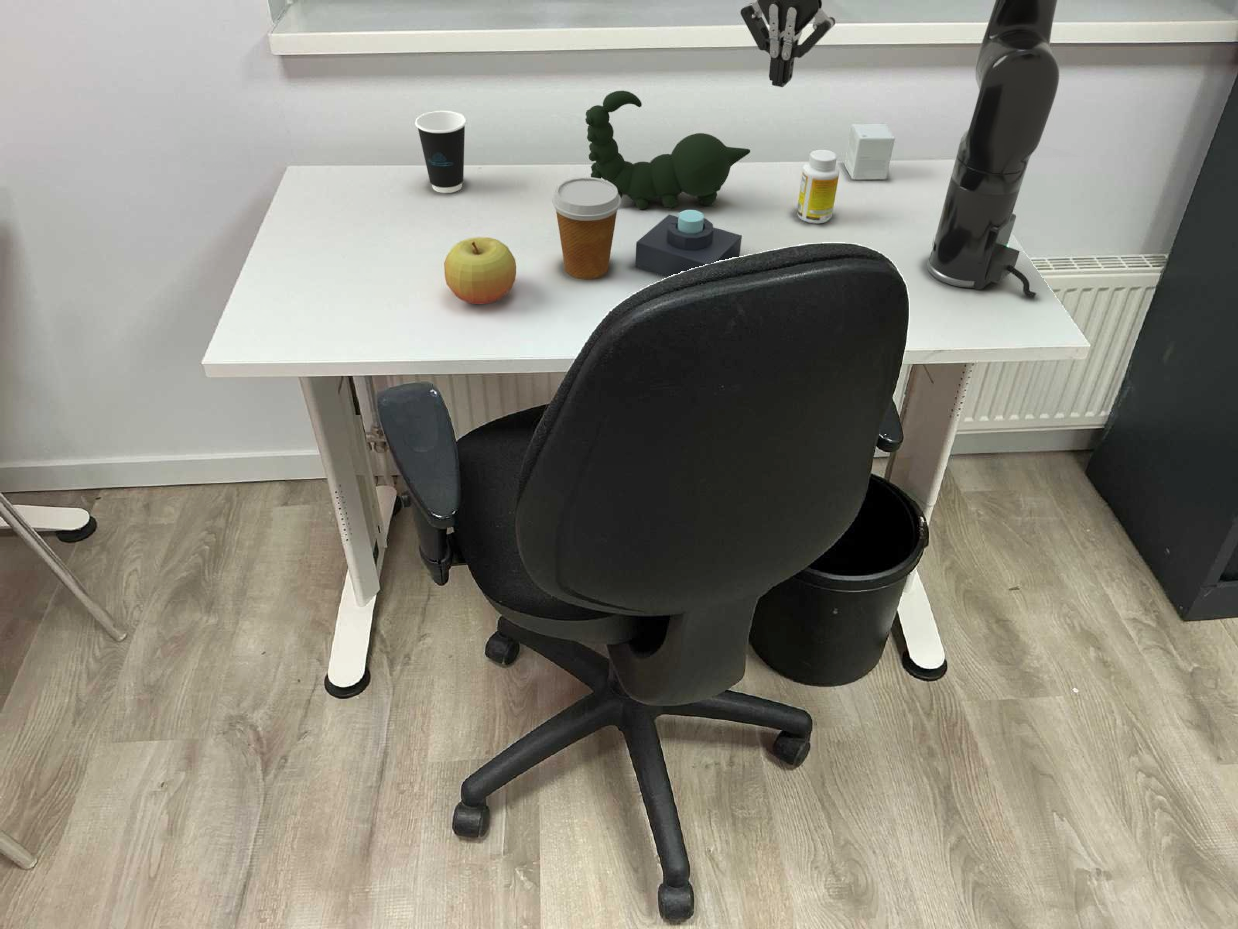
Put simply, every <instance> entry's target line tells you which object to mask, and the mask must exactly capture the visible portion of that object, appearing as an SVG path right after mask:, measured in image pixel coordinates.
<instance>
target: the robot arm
mask: <svg viewBox="0 0 1238 929" xmlns="http://www.w3.org/2000/svg"><path fill="white" fill-rule="evenodd" d="M1057 3H1058V0H995V2H994V4H993V8H992V10H991V13H990V16H989V20H988V23H987V26H986V28H985V32H984V35H983V37H982V41H981V43H980V47H979V50H978V53H977V56H976V61H975V67H974V73H975V81H976V84H977V88H978V90H979V91H978V96H977V99H976V103H975V107H974V110H973V113H972V117H971V120H970V124H969V127H968V129H967V130H966V131H965V132H964V133H963V134H962V135H961V138H960V141H959V144H958V148H957V152H956V156H955V160H954V164H953V168H952V172H951V175H950V180H949V183H948V187H947V189H946V190H947V191H946V195H945V198H944V203H943V207H942V209H941V214H940V218H939V220H938V221H939V222H938V226H937V231H936V234H935V236H934V237H933V238H932V242H931V252H930V255H929V257H928V261H927V269H928V272H929V273H930V274H931V275H932V276H933V278H935V279H937V280H938V281H940V282H942V283H945V284H947V285H951V286H955V287H959V288H972V289H976V290H978V291H982V290H983V289H984V288H985V287H986V286H988V284H990V283H991V282H992V283H995V284H997V285H999V284H1001V282H1003V281H1004V280H1005V279H1006V278H1007V277H1008V276H1009V275H1010V274H1012V275H1013V276H1015V277H1016V278H1017V279H1018V280H1019V281H1021V284H1022V291H1023V294H1024V295H1025V296H1026V297H1027V298H1031V299H1034V298H1035V297H1036V295H1037V292H1036V291H1031V290H1030V287H1031V286H1030V281H1029V279H1028V278H1027V276H1026V275H1025V274H1024V273H1023V272H1021V271H1020V270H1018V269H1017V268H1016V264H1017V261H1018V258H1019V255H1020V253H1021V251H1020V250H1018V249H1015V248H1013V247H1010V246H1009V241H1010V238H1011V235H1012V232H1013V229H1014V225H1015V222H1016V219H1017V215H1016V214H1015V213H1014V210H1015V206H1016V204H1017V201H1018V196H1019V194H1020V191H1021V187H1022V184H1023V181H1024V179H1025V176H1026V175H1025V174H1026V171H1027V169H1028V165H1029V162H1030V159H1031V157H1032V155H1033V153H1034V152H1035V151H1036V150H1037V148H1038V146H1039V144H1040V142H1041V140H1042V136H1043V133H1044V131H1045V128H1046V125H1047V123H1048V120H1049V116H1050V113H1051V111H1052V109H1053V105H1054V102H1055V98H1056V95H1057V93H1058V92H1057V91H1058V88H1059V83H1060V66H1059V63H1058V61H1057V59H1056V57H1055V55H1054V52H1052V49H1051V37H1052V31H1053V30H1052V29H1053V24H1054V20H1055V19H1054V18H1055V14H1056V9H1057ZM822 6H823V1H822V0H755V1H754V2H750V3H749V4H747V5H745V6H744V7H742V8H741V9H740V16H741V17H742V20H743V21H744V24H745V25H746V27H747V29H748V31H749V33H750V35H751V36H752V39H753V40H754V42H755V44H756V46H757V48H758V50H760V51H762V52H763V51H764V52H766V53H768V54H769V57H770V60H769V61H770V62H769V70H768V71H769V72H768V73H769V74H768V78H769V81H771V86H773V87H778V88H784V87H785V86H786V85H787V84H788V83H789V82H790V81H791V80H792V78H793V76H794V75H793V74H794V67H795V66H794V65H795V59H796V58H798V59H800V58H803V57H804V56H805V55H806V54H808V53H809V52H810V51H811V50H812V49H813V48H814V47H815V46H816V45H817V43H819V42H820V41H821V39H822V38H824V36H825V35H827V34H828V33H829V31H830V30H831V29H832V28H833V27H835V25H836V19H835V18H834V17H833V16H828V15H827V14H826V13H825V11H824V10H823V9H822ZM763 16H764V18H765V21H766V22H765V21H764V18H763ZM813 19H814V21H813V23H812V29H813V31H812V32H811V33H810V35H808V36H807V38H805V40H804V41H803V42H802V43H801V44H800V39H801V36H802V33H803V30H804V29H805V28H806V27H807V26H808V25H809V23H810V22H811V21H812V20H813ZM766 23H767V25H768V26H769V27H768V26H767V25H766Z"/></svg>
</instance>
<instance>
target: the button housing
mask: <svg viewBox="0 0 1238 929" xmlns="http://www.w3.org/2000/svg"><path fill="white" fill-rule="evenodd" d="M742 240H743V235H742V234H738V233H734V232H731V231H728V230H725V229H721V228H718V227H714V223H712V222H711V221H710V220H708V219H707V218H705V217H704V222H703V230H702V232H699V233H685V232H681V231H679V230H678V216H676V215H673V214H670V213H669V214H668V215H667V216H665V217H664V218H663V219H662V220H660V221H659V222H658V223H657V224H656V225H655V226H653V228H650V230H649V231H648V232H646V233H645V234H644V235H643V236H642V237H641V238H639V240H638V239H637V241H636V242H635V265H634V266H635V267H636V268H638V269H642V270H646V271H648V272H650V273H654V274H658V275H661V276H664V277H667V278H669V277H668V276H671V275H673V274H678V273H680V272H681V271H687V270H689V269H691V268H695V267H699V266H703V265H705V264H711V263H714V262H716V261H719V260H725V259H729V258H732V257H739V256H740V257H741V248H742ZM740 257H739V258H740Z"/></svg>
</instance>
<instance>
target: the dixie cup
mask: <svg viewBox="0 0 1238 929" xmlns="http://www.w3.org/2000/svg"><path fill="white" fill-rule="evenodd" d="M466 124H467V118H466V116H464V115H463V114H461V113H460V112H456V111H451V110H434V111H429V112H424V113H423V114H421V115H419V116H418V117H417V118H416V119H415V121H414V125H415V126H416V128H417V130H418V136H419V139H420V144H421V149H422V152H423V157H424V162H425V166H426V171H427V175H428V179H429V183H430V184H431V186H432V189H433V190H434V191H435V192H436V193H441V194H451V193H455V192H457V191H460V190H461V189H462V187H463V182H464V176H465V175H464V174H465V137H466V136H465V134H466V130H465V129H466Z"/></svg>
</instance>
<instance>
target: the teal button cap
mask: <svg viewBox="0 0 1238 929" xmlns="http://www.w3.org/2000/svg"><path fill="white" fill-rule="evenodd" d="M677 217H678V230H679V231H681V232H685V233H699V232H702V230H703V222H704V218H705V215H704V213H703V212H701V211H699V210H697V209H685V210H682V211H680V212H678V216H677Z"/></svg>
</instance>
